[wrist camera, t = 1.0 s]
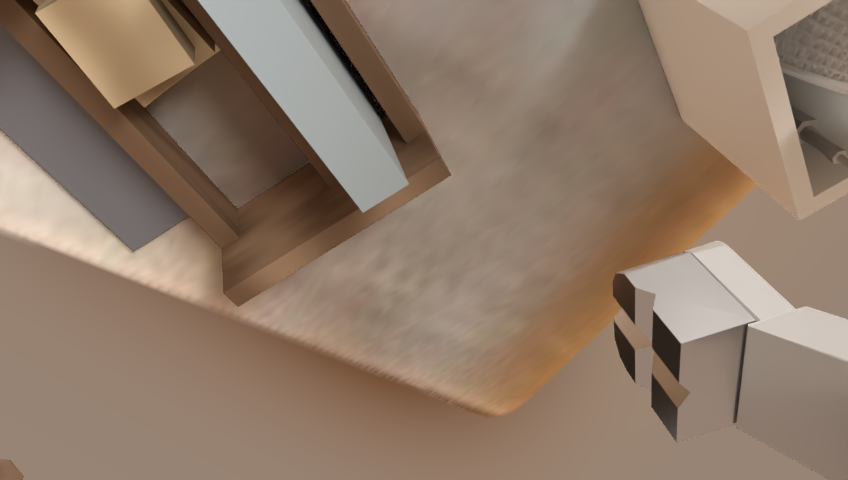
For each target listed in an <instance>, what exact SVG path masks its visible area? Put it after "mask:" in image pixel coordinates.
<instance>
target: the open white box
mask: <svg viewBox="0 0 848 480" xmlns="http://www.w3.org/2000/svg"><path fill="white" fill-rule="evenodd" d="M831 1H833V0H638V2H639V5H640V8H641V10H642V13H643V16H644V18H645V21H646V24H647V27H648V29H649V32H650V35H651V37H652V40H653V43H654V45H655V48H656V51H657V53H658V56H659V59H660V62H661V64H662V67H663V70H664V72H665V75H666V78H667V80H668V83H669V86H670V89H671V91H672V94H673V97H674V99H675V102H676V105H677V107H678V110H679V113H680V116H681V118H682V120H683V121H684V122H685V123H686V124H688V125H689V126H690V127H691V128H692V129H693V130H695V131H696V132H697V133H698V134H699V135H700V136H702V137H703V138H704V139H705V140H706V141H707V142H708V143H710V144H711V145H712V146H713V147H714V148H715V149H717V150H718V151H719V152H720V153H721V154H722V155H724V156H725V157H726V158H727V159H728V160H729V161H731V162H732V163H733V164H734V165H735V166H736V167H738V168H739V169H740V170H741V171H742V172H743V173H745V174H746V175H747V176H748V177H749V178H750V179H751V180H753V181H754V182H755V183H756V184H757V185H758V186H760V187H761V188H762V189H763V190H764V191H765V192H767V193H768V194H769V195H770V196H771V197H772V198H774V199H775V200H776V201H777V202H778V203H779V204H781V205H782V206H783V207H784V208H785V209H786V210H788V211H789V212H790V213H791V214H793V216H795V217H796V218H797V219H798V220H802V219H804V218H806V217H807V216H809V215H811V214H813V213H814V212H816V211H817V210H819V209H821V208H823V207H825V206H826V205H828V204H830V203H832V202H833V201H835V200H837V199H839V198H840V197H842V196H844V195H846V194H847V193H848V167H846V166H845V165H843V164H842V163H839V164H833V163H832V162H831V161H830V160H829V159H828V158H827V157H826V156H825V155H824V154H823V153H822V152H821V151H819V150H818V149H816V148H815V147H813V146H811V145H810V144H808V143H804V144H800V141H799V137H798V133H797V129H796V125H795V121H794V117H793V113H792V109H791V105H792V106H793V107H795V108H797V109H798V110H800V111H802V112H804V113H806V114H807V115H809V116H811V117H813V118H815V119H817V122H818V126H819V132H820V133H821V134H822V135H823V136H825V137H826V138H827V139H828V140H829V141H830V142H832V143H834V144H836V145H837V146H839V147H841V148H843V149H844V150H846V153H847V157H846V158H848V96H846V95H844V94H841V93H838V92H835V91H832V90H829V89H826V88H823V87H820V86H818V85H815V84H812V83H809V82H806V81H804V80H801V79H798V78H796V77H793V76H790V75H788V74H785V73H782V70H781V66H780V62H779V58H778V54H777V50H776V46H775V42H774V38H773V36H775V35H777V34H778V33H780V32H782V31H783V30H785V29H787V28H788V27H790V26H792V25H793V24H795V23H796V22H798V21H800V20H801V19H803V18H805V17H806V16H808V15H810V14H811V13H813V12H815V11H816V10H818V9H820V8H821V7H823V6H824V5H826V4H828V3H829V2H831Z"/></svg>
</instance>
